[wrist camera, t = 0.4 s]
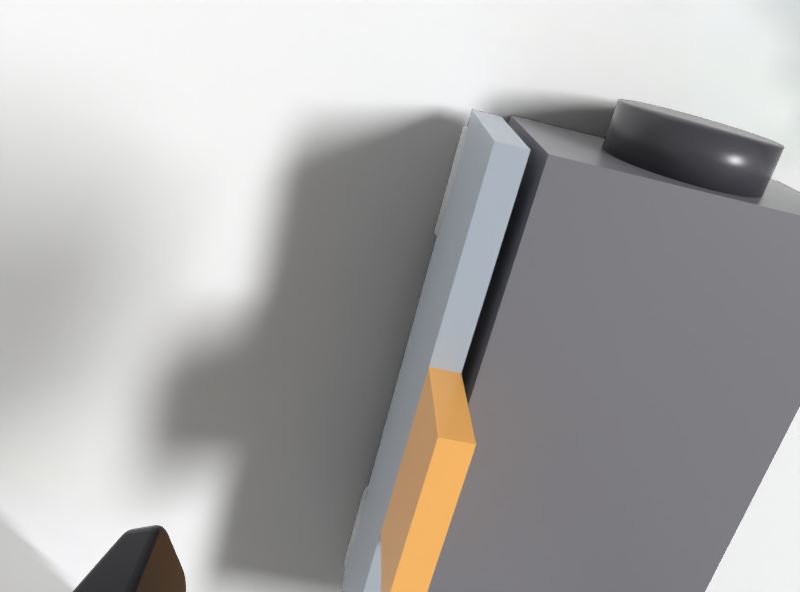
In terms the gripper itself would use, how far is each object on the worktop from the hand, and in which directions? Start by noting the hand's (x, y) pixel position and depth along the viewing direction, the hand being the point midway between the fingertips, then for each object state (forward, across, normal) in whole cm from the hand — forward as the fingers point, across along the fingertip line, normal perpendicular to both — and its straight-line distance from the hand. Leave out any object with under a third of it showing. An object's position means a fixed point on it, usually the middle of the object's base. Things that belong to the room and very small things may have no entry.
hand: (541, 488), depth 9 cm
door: (+12, +1, +7) cm, 14 cm away
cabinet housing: (+12, -3, +9) cm, 15 cm away
